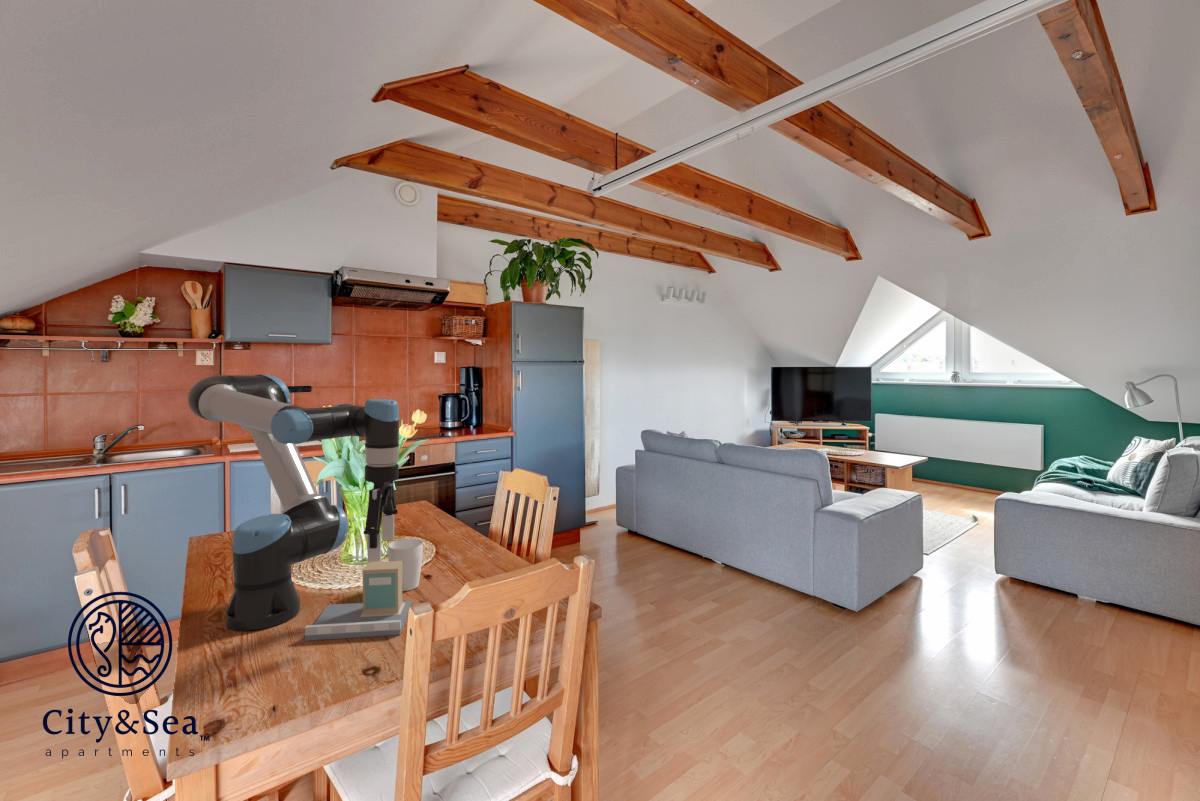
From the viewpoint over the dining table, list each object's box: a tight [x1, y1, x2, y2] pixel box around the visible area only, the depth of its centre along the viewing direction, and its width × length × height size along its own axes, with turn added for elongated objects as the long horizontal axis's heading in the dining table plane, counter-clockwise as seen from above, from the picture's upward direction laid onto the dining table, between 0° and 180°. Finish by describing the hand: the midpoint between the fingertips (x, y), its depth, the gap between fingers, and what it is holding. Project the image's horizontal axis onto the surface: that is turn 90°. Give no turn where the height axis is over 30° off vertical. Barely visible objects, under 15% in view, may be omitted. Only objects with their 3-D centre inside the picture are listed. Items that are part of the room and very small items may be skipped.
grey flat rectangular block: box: [304, 599, 414, 642], centre depth 125 cm, size 20×15×3 cm
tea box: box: [362, 560, 404, 615], centre depth 128 cm, size 8×5×11 cm, turn 100°
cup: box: [387, 538, 424, 592], centre depth 145 cm, size 9×9×12 cm
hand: (381, 550), depth 128 cm, fingers open, 13 cm apart
